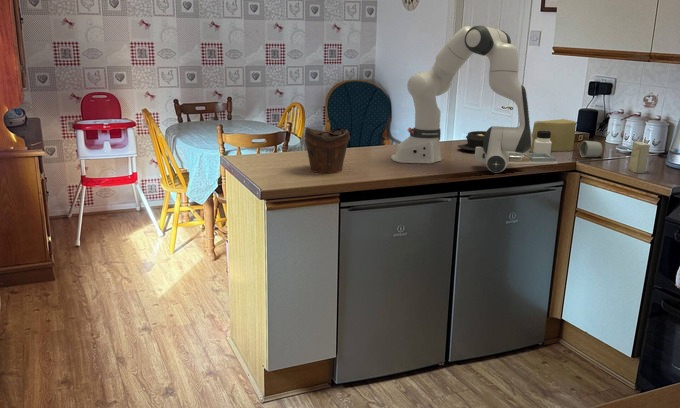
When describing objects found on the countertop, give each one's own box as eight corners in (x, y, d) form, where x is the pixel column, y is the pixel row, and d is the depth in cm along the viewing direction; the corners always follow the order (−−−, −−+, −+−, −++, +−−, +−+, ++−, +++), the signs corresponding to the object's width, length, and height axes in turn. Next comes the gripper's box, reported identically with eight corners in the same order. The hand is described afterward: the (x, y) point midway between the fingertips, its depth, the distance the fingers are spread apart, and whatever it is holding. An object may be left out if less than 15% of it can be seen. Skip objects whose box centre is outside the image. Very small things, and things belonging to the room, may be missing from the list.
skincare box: (628, 169, 263) (632, 141, 259) (638, 169, 263) (642, 141, 259) (635, 173, 256) (640, 144, 253) (646, 173, 257) (650, 144, 253)
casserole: (469, 155, 287) (471, 137, 285) (450, 148, 304) (451, 131, 302) (515, 152, 295) (517, 135, 293) (494, 145, 312) (495, 129, 310)
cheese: (537, 154, 292) (540, 122, 288) (524, 150, 301) (527, 120, 297) (573, 151, 301) (577, 120, 296) (560, 147, 309) (563, 118, 305)
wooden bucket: (359, 169, 256) (359, 126, 251) (324, 177, 242) (324, 132, 238) (330, 163, 268) (330, 122, 263) (295, 170, 255) (294, 127, 250)
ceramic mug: (602, 158, 285) (604, 142, 283) (586, 158, 284) (588, 142, 282) (590, 154, 295) (592, 138, 293) (574, 154, 294) (576, 138, 292)
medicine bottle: (550, 157, 285) (553, 132, 281) (534, 157, 286) (537, 131, 283) (548, 154, 291) (551, 129, 288) (533, 154, 293) (535, 129, 289)
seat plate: (505, 164, 270) (505, 158, 269) (495, 158, 282) (495, 153, 281) (557, 163, 272) (558, 158, 271) (545, 157, 284) (546, 152, 284)
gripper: (525, 150, 251) (525, 144, 263) (474, 147, 256) (477, 141, 269) (523, 165, 252) (524, 159, 265) (473, 161, 258) (475, 155, 271)
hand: (499, 150), depth 267 cm, fingers open, 8 cm apart
